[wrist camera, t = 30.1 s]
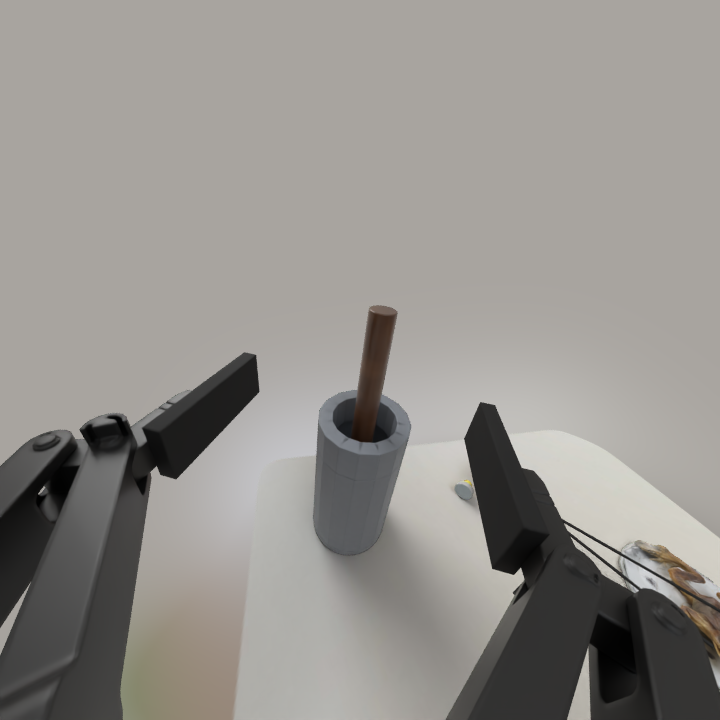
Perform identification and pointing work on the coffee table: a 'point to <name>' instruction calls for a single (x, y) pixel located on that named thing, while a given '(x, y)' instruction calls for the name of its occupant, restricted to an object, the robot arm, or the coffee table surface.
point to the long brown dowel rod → (373, 371)
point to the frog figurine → (677, 590)
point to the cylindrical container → (356, 473)
